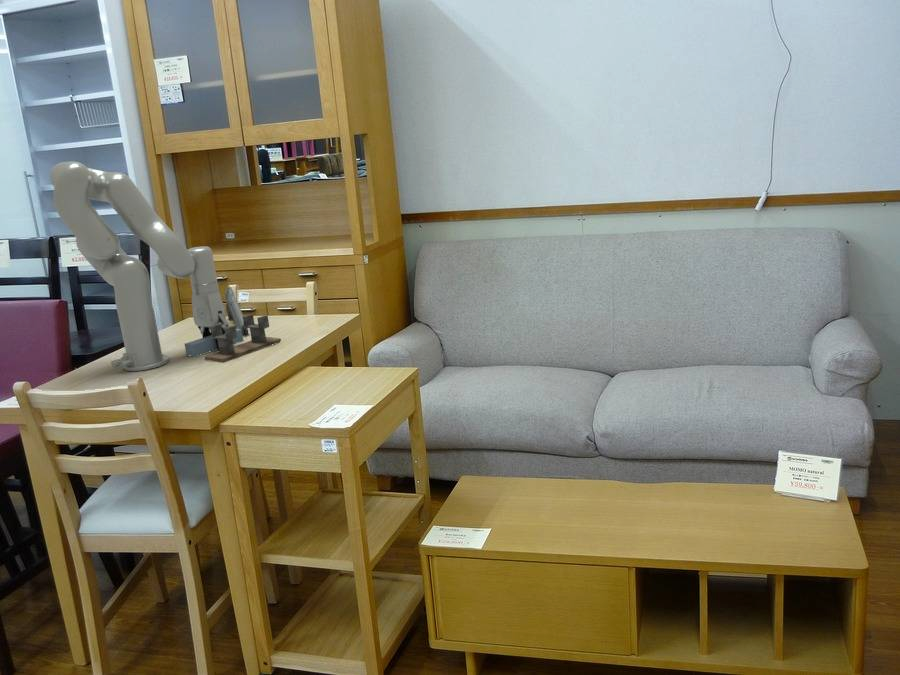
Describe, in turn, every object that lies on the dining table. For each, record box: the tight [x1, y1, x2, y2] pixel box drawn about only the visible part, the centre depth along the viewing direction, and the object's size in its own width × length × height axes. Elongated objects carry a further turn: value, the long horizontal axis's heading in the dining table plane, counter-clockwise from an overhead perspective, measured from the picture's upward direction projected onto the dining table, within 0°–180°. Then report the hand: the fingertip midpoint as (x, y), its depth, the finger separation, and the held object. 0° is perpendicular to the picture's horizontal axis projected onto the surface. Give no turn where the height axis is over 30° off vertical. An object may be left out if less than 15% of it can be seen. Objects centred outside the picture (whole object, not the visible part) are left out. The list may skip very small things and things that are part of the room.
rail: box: [184, 328, 244, 357], centre depth 245 cm, size 18×4×4 cm, turn 143°
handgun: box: [224, 286, 249, 335], centre depth 271 cm, size 31×3×15 cm, turn 24°
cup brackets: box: [204, 313, 282, 363], centre depth 238 cm, size 22×8×9 cm, turn 144°
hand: (215, 346), depth 246 cm, fingers open, 5 cm apart
